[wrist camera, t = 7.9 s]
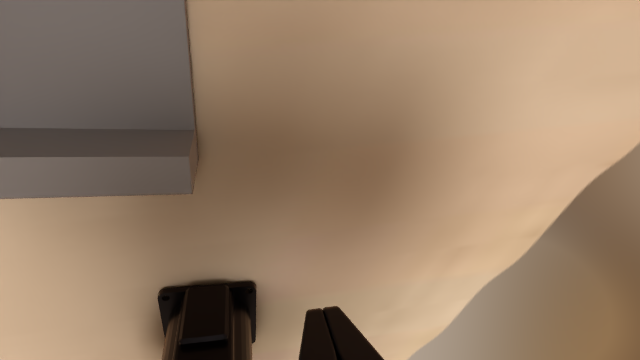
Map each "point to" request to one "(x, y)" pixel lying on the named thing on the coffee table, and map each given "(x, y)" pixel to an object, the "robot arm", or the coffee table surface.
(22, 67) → the chute
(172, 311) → the robot arm
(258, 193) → the coffee table surface
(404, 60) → the coffee table surface
